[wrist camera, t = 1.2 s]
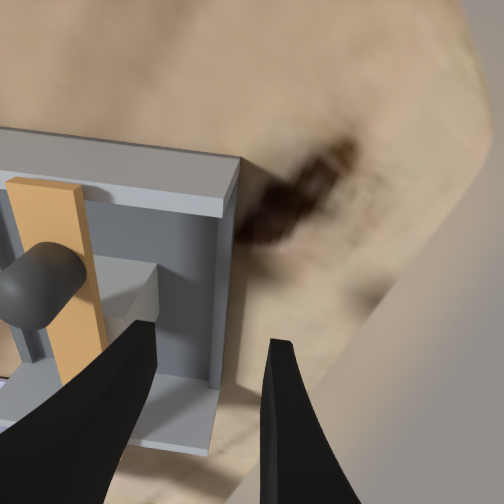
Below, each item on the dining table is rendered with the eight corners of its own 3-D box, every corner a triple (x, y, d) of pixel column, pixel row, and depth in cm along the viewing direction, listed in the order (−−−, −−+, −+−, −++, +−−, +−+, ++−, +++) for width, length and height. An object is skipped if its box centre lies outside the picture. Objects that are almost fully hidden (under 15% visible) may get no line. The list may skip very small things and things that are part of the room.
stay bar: (125, 450, 22) (104, 503, 20) (87, 445, 22) (61, 497, 20) (81, 185, 13) (30, 220, 10) (15, 176, 13) (-52, 209, 10)
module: (159, 312, 23) (130, 373, 19) (100, 304, 23) (59, 363, 19) (157, 263, 21) (124, 319, 17) (92, 254, 21) (43, 308, 17)
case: (221, 383, 27) (207, 456, 23) (34, 357, 28) (-19, 423, 23) (240, 156, 18) (223, 198, 13) (-43, 120, 18) (-161, 149, 13)
